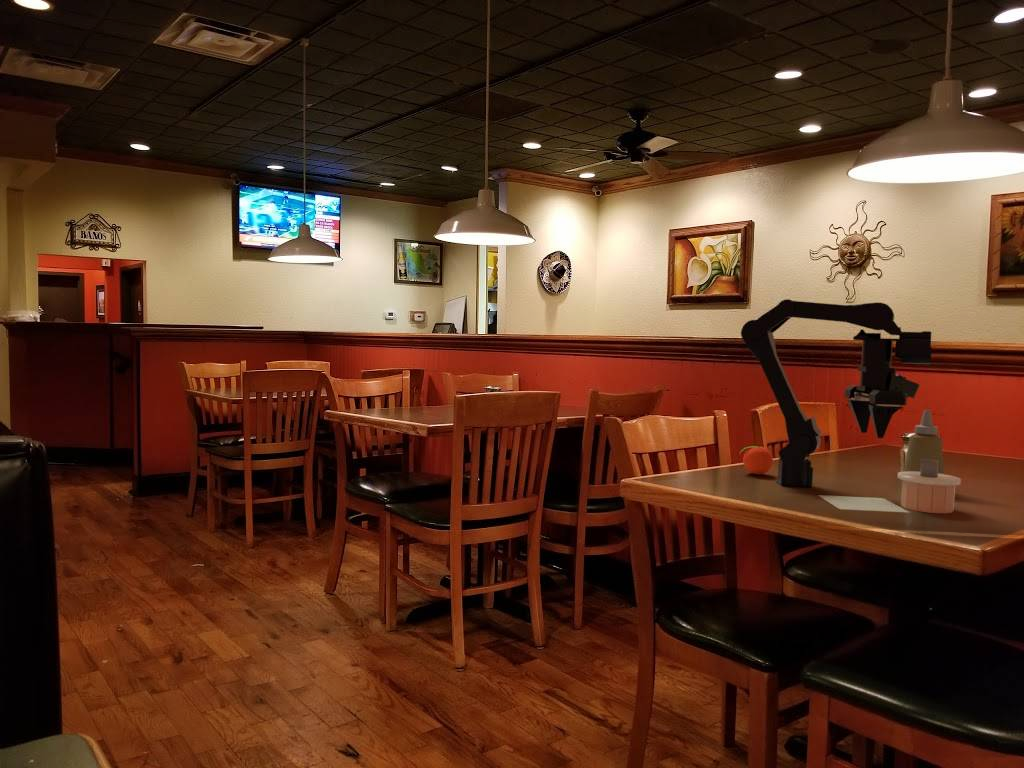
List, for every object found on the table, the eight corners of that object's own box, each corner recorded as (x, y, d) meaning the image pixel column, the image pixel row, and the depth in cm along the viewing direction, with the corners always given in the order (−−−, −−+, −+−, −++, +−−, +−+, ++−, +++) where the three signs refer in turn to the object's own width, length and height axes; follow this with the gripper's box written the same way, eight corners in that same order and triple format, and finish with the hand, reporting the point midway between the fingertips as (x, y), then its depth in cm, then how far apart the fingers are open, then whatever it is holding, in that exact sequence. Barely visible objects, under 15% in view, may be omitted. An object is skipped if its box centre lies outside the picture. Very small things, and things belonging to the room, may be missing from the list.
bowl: (913, 514, 148) (915, 483, 148) (893, 504, 157) (895, 475, 157) (961, 516, 147) (964, 485, 147) (939, 506, 156) (941, 477, 156)
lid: (912, 484, 147) (913, 463, 147) (888, 474, 158) (889, 454, 158) (972, 486, 146) (973, 466, 146) (944, 476, 157) (945, 457, 157)
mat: (839, 512, 148) (839, 508, 148) (818, 498, 161) (818, 495, 161) (909, 515, 147) (910, 512, 147) (882, 501, 160) (883, 498, 160)
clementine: (738, 475, 186) (740, 446, 185) (737, 470, 192) (738, 442, 192) (773, 478, 184) (775, 448, 183) (770, 473, 191) (772, 444, 190)
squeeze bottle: (928, 485, 180) (933, 408, 178) (951, 492, 172) (956, 412, 170) (895, 485, 179) (899, 408, 178) (916, 492, 171) (921, 411, 170)
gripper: (936, 365, 154) (930, 442, 155) (897, 362, 173) (892, 431, 174) (878, 363, 155) (873, 440, 156) (845, 360, 173) (841, 429, 174)
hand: (871, 435), depth 165 cm, fingers open, 9 cm apart
